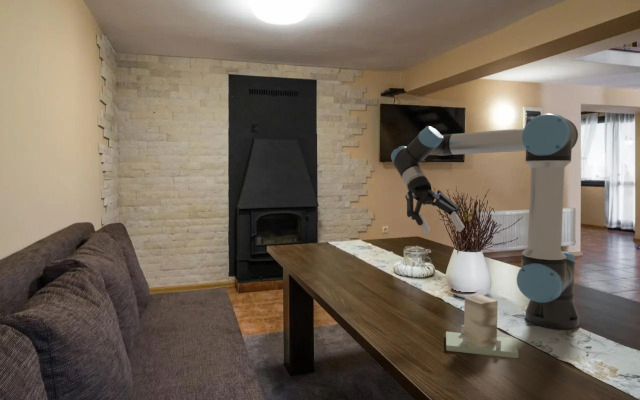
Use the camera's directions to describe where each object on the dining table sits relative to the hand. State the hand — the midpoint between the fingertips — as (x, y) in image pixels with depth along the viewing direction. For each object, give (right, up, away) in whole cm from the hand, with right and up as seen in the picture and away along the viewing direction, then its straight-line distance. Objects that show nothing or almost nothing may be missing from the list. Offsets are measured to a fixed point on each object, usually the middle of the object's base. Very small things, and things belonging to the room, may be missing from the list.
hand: (445, 231), depth 133 cm
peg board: (+5, -31, -17) cm, 36 cm away
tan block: (+5, -29, -17) cm, 34 cm away
